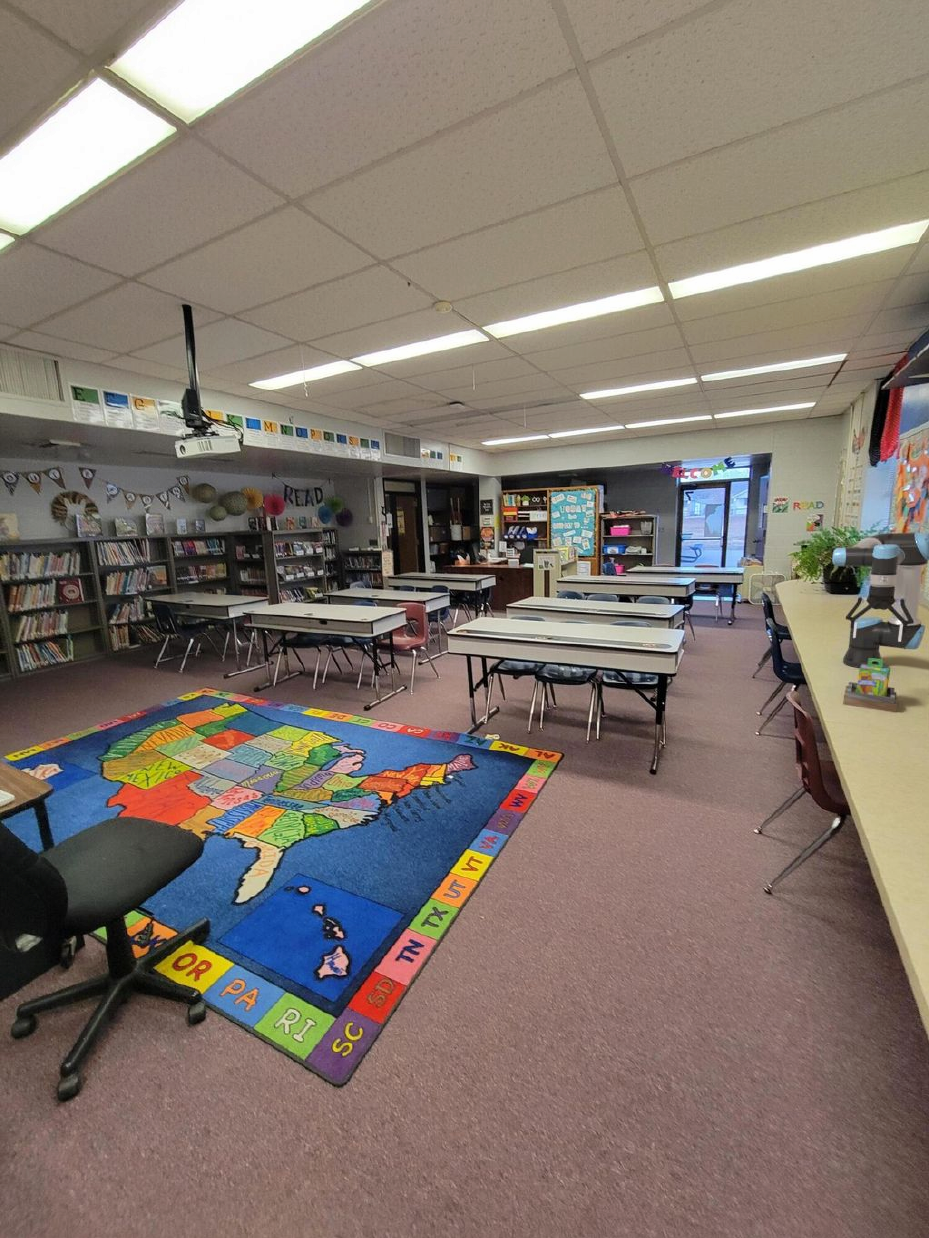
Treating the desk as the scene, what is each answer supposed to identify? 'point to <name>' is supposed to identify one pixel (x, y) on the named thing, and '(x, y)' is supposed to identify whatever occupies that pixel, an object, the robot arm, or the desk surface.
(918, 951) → the desk surface
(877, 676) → the chalk box
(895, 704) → the square frame
